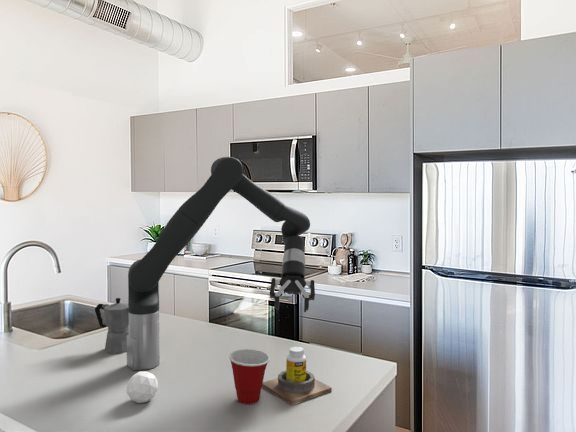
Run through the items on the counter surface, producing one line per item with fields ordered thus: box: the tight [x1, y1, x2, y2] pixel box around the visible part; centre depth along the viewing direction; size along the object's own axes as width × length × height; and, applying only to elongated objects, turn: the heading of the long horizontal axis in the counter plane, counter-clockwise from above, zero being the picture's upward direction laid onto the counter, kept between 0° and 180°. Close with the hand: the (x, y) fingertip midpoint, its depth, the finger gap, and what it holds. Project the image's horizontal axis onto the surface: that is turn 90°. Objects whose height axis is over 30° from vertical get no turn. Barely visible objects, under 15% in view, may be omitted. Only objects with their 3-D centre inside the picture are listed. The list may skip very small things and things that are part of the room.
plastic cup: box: [228, 348, 271, 405], centre depth 119 cm, size 11×11×12 cm
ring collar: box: [262, 370, 333, 406], centre depth 126 cm, size 14×14×4 cm
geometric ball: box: [126, 370, 159, 404], centre depth 118 cm, size 8×8×8 cm
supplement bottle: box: [285, 346, 307, 383], centre depth 126 cm, size 6×6×10 cm
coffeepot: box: [94, 297, 129, 355], centre depth 156 cm, size 15×9×18 cm, turn 79°
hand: (291, 310), depth 139 cm, fingers open, 8 cm apart
